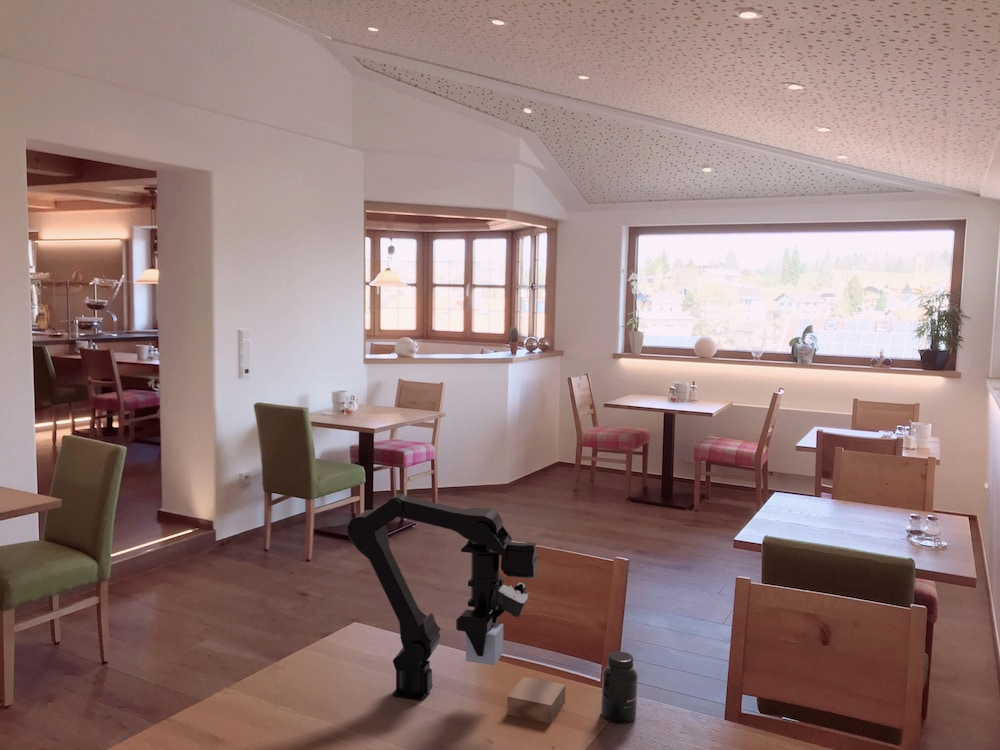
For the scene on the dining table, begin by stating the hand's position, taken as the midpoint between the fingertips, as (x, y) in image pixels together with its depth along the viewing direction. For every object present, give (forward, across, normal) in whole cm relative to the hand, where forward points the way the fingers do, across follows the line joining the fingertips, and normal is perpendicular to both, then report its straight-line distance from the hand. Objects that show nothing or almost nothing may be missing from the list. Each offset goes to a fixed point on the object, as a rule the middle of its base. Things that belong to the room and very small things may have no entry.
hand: (484, 649), depth 161 cm
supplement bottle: (+11, +2, -27) cm, 29 cm away
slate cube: (+2, 0, 0) cm, 2 cm away
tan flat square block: (+11, 0, -11) cm, 15 cm away
